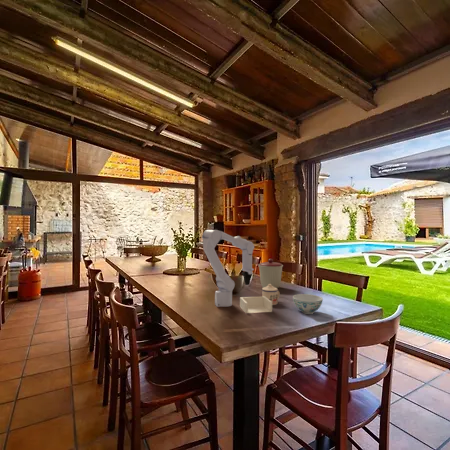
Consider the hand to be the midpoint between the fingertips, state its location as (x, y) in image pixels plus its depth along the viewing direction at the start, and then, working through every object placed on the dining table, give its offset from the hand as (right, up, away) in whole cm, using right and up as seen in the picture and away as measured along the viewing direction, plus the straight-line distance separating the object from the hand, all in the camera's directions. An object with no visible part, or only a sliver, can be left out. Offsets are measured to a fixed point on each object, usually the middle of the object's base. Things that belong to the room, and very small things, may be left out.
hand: (247, 284), depth 168 cm
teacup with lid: (+14, -11, -3) cm, 18 cm away
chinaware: (+30, -11, -19) cm, 37 cm away
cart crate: (+3, -10, -17) cm, 20 cm away
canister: (+20, -11, +42) cm, 47 cm away
